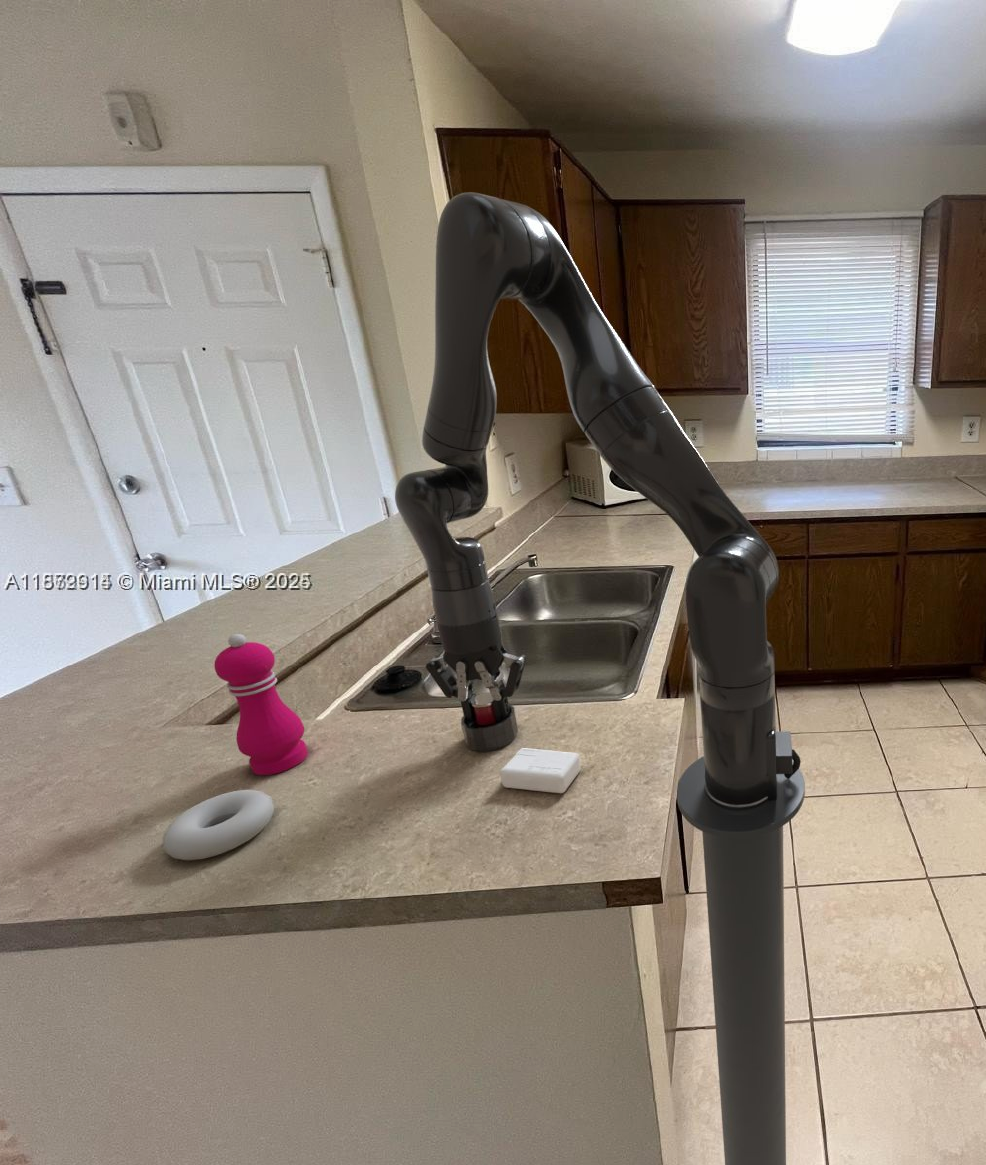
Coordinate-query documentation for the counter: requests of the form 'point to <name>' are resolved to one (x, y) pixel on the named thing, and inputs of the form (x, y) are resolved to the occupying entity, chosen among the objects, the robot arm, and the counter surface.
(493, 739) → the bowl
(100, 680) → the counter surface
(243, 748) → the pepper mill
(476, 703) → the pod
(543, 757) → the soap
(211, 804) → the donut
